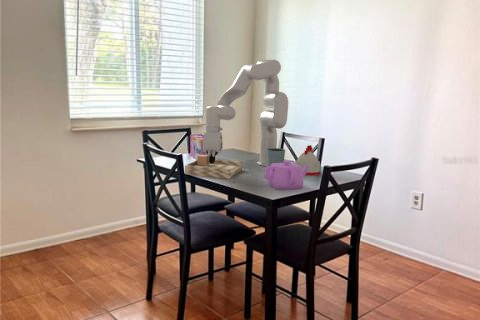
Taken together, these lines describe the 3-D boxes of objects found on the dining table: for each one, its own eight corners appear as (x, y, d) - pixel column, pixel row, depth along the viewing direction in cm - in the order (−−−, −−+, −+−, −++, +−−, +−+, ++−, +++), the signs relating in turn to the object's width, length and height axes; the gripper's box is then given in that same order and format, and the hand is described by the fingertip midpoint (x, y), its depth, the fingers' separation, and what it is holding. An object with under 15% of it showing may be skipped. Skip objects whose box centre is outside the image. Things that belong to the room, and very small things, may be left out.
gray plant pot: (283, 173, 227) (284, 151, 224) (264, 172, 229) (265, 150, 226) (284, 169, 236) (286, 148, 234) (266, 168, 238) (267, 147, 236)
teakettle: (261, 187, 197) (262, 161, 194) (275, 180, 212) (277, 156, 209) (296, 193, 189) (297, 166, 187) (308, 185, 204) (310, 160, 202)
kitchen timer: (323, 172, 233) (325, 145, 230) (313, 176, 222) (315, 148, 219) (301, 168, 241) (302, 142, 238) (289, 172, 230) (291, 145, 227)
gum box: (214, 162, 251) (214, 139, 248) (201, 163, 248) (201, 139, 245) (201, 155, 272) (202, 134, 270) (189, 155, 269) (190, 134, 267)
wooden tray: (241, 170, 232) (242, 162, 231) (229, 178, 211) (229, 169, 210) (201, 166, 238) (201, 158, 238) (184, 174, 218) (184, 165, 217)
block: (209, 164, 232) (209, 155, 231) (205, 165, 227) (206, 156, 226) (200, 163, 233) (200, 154, 232) (197, 165, 229) (197, 155, 228)
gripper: (228, 129, 227) (227, 163, 230) (202, 127, 231) (201, 160, 235) (223, 131, 220) (222, 165, 223) (197, 129, 224) (196, 163, 227)
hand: (212, 163), depth 229 cm, fingers closed
